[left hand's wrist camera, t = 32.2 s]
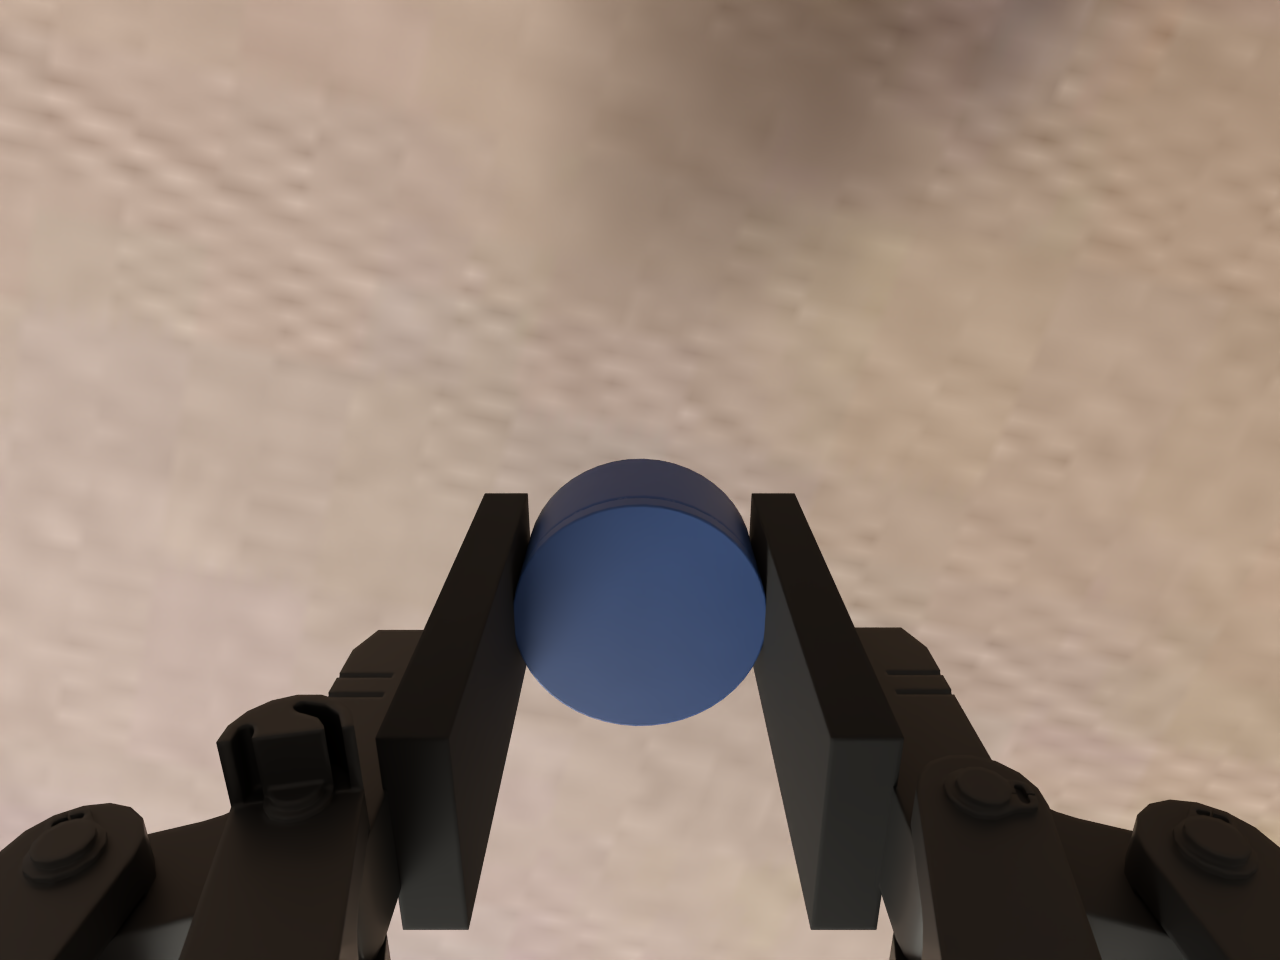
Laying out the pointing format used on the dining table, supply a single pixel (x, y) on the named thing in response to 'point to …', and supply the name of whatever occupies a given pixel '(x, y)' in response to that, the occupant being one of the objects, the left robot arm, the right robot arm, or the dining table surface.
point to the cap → (639, 594)
